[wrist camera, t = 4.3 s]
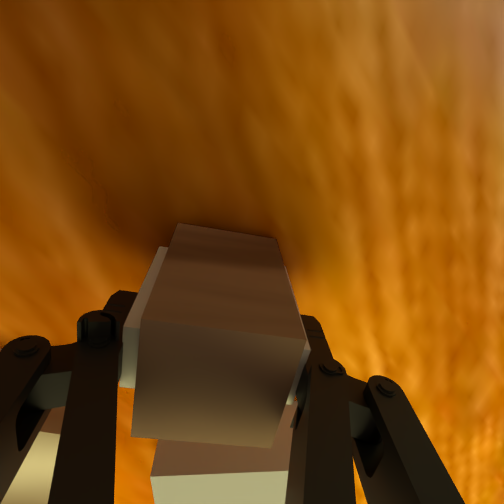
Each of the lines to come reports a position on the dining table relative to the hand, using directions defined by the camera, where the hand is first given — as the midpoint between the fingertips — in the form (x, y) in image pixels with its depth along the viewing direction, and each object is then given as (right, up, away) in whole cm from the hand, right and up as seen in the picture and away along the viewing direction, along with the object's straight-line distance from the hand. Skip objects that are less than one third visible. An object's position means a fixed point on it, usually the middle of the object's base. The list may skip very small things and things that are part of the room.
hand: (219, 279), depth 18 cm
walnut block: (0, 0, 0) cm, 0 cm away
